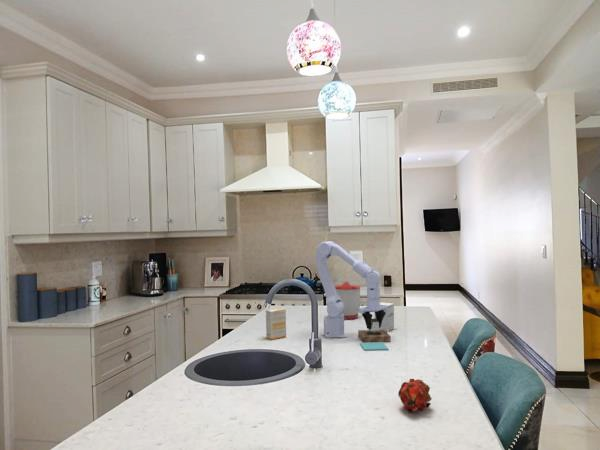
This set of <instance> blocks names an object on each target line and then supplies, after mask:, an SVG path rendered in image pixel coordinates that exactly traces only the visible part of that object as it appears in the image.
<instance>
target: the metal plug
mask: <svg viewBox="0 0 600 450" xmlns="http://www.w3.org/2000/svg"><path fill="white" fill-rule="evenodd" d="M367 330H368V335H379V321H378V320H376V319H375V317H374V318H373V317H372V319H371V329H367Z"/></svg>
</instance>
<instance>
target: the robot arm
mask: <svg viewBox="0 0 600 450" xmlns="http://www.w3.org/2000/svg"><path fill="white" fill-rule="evenodd" d="M331 256H336V257H337V256H338V257H339V258H341V259H342V260H343V261H345V262H346V263H348V264H349V265H350V266H351V267H352V270H353V271H354V272H355V273H356V274H358V275H359V276H360V277H362V278H363V279H365V282H366V283H367V285H366V307H362V308H359V313H358V314H361V316H362V318H363V320H364V322H365V325H366V330H368V329H371V319H373V314H372V313H374V312H375V315H376V320H378V321H379V328H381V323H382V320H383V318H384V316H385V314H386V312H384V311H388V306H380V302H381V299H380V298H381V287H380V280H381V274H380V272H379V270H375V269H374V267H370V266H369V265H368V264H367V263H366V261H365V260H362V259H356V258H355V257H354V256H352V255H351V254H350V253H349V252H348V251H346V250H345V249H344V248H343V247H341V246H340V244H337V243H336V242H334V240H333V241H332V240H328V241H322V242H320V243H319V244H318V246H317V247H316V253H315V259H314V263H315V267H316V270H317V271H318V272H317V273H318V275H319V278H320V282H321V284H322V287H323V291H324V293H325V296H326V302H325V303H326V306H327V308H326V312H327V314H328V316H324V318H323V334H324V337H325V338H327V339H329V338H331V339H332V338H334V339H335V338H346V337H347V335H346V333H345V319H344V314H343V312H344V310H345V305H344V303H343V302H342V301H341V299H340V297H339V296H338V294H337V292H336V289H335V286H336V285H335V282H334V280H333V277H332V274H331V271H330V269H329V265H328V261H329V259H330V258H331Z"/></svg>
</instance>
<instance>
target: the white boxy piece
mask: <svg viewBox="0 0 600 450" xmlns="http://www.w3.org/2000/svg"><path fill="white" fill-rule="evenodd" d="M380 306H388V311H384V312H386V314H385V316H384V318H383V320H382V323H381V328H379V330H385V331H386V332H387V333H388V332H389V331H391V330H394V329H395V303H393V302H381V301H380ZM373 313H374V319H376V315H375V312H373Z"/></svg>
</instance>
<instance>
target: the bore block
mask: <svg viewBox="0 0 600 450" xmlns="http://www.w3.org/2000/svg"><path fill="white" fill-rule="evenodd" d="M357 332H358V333H357V336H358V338H359V339H360V340H361V341H362V342H361V343H366V342H383V343H391V339H392V338H391V335H390V334H389V333H388V332H387V331H385V330H379V335H368V329H359V330H358V331H357Z"/></svg>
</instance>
